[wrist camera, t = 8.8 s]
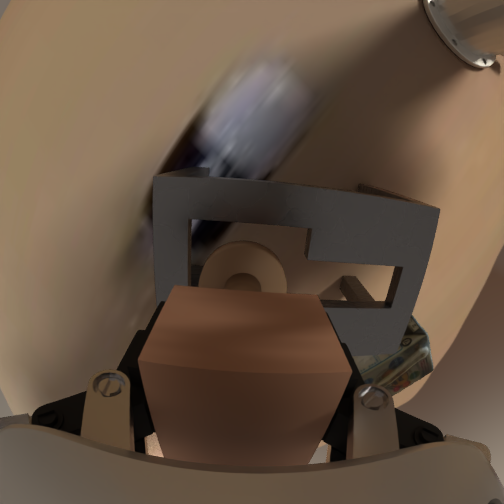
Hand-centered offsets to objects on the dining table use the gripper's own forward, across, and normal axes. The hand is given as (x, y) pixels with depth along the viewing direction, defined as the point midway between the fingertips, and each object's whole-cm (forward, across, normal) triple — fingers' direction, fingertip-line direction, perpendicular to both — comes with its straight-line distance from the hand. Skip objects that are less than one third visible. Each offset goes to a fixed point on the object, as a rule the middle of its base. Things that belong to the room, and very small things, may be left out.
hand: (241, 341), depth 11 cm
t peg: (+6, 0, 0) cm, 6 cm away
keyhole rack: (+16, -3, 0) cm, 17 cm away
